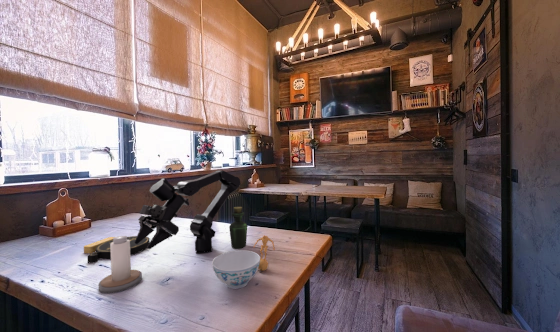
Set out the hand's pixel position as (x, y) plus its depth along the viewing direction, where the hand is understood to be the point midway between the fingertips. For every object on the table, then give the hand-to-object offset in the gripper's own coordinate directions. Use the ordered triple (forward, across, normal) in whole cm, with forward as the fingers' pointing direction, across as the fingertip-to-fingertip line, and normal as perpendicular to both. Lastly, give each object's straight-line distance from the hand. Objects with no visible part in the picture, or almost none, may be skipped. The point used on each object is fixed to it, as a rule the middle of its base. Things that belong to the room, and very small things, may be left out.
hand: (141, 245), depth 80 cm
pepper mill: (+10, 0, +1) cm, 10 cm away
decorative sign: (+3, -35, +12) cm, 37 cm away
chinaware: (-2, +32, +17) cm, 37 cm away
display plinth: (+12, 0, +2) cm, 12 cm away
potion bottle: (-18, +10, +34) cm, 40 cm away
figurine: (-11, +34, +26) cm, 44 cm away
